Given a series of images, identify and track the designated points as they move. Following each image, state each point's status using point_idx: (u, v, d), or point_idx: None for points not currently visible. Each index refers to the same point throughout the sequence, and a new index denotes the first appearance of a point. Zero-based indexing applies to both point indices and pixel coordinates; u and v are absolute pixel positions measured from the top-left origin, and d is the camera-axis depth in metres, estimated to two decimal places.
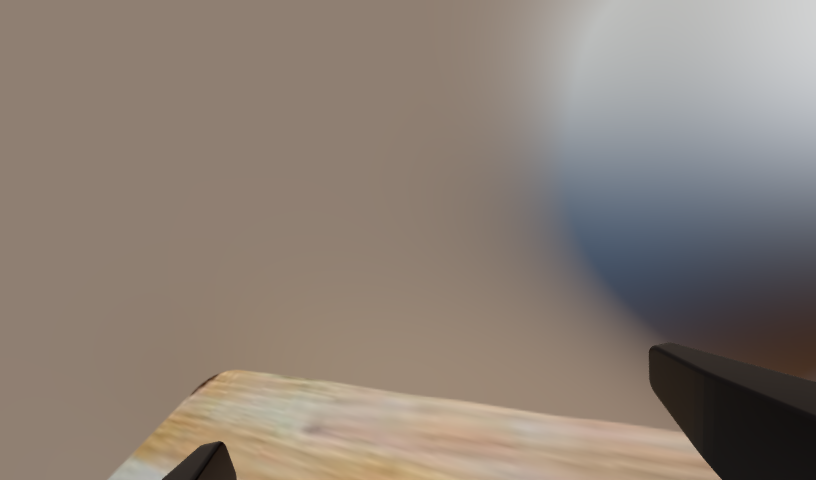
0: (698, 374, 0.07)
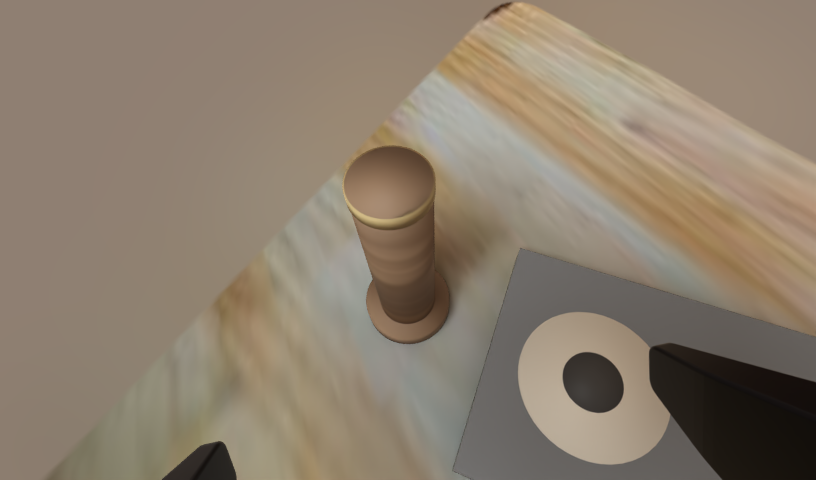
0: (698, 374, 0.07)
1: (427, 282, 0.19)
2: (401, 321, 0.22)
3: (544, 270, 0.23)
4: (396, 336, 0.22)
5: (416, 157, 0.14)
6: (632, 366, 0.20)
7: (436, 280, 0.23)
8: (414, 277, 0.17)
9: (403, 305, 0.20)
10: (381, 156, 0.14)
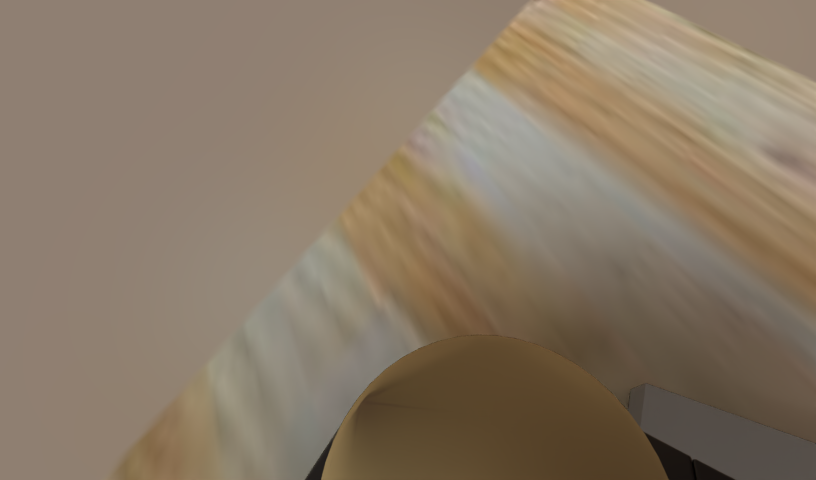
0: None
1: None
2: None
3: (698, 432, 0.13)
4: None
5: (582, 391, 0.04)
6: None
7: None
8: None
9: None
10: (454, 383, 0.04)
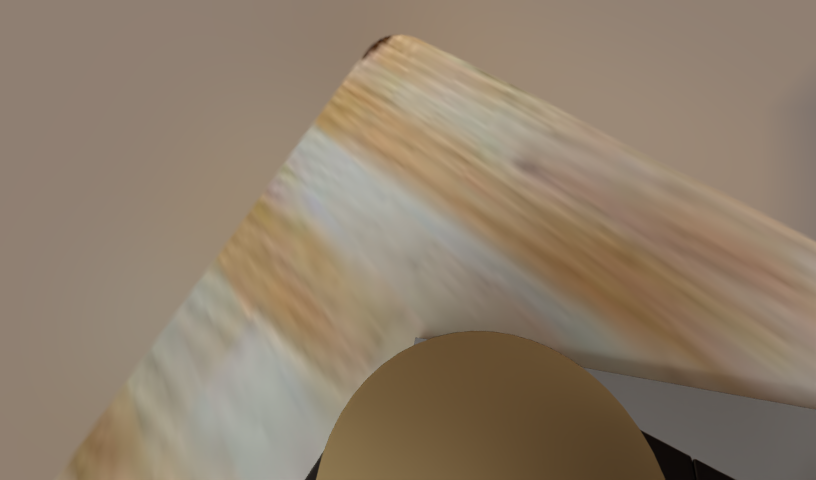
0: None
1: None
2: None
3: None
4: None
5: (577, 387, 0.04)
6: None
7: None
8: None
9: None
10: (450, 379, 0.04)
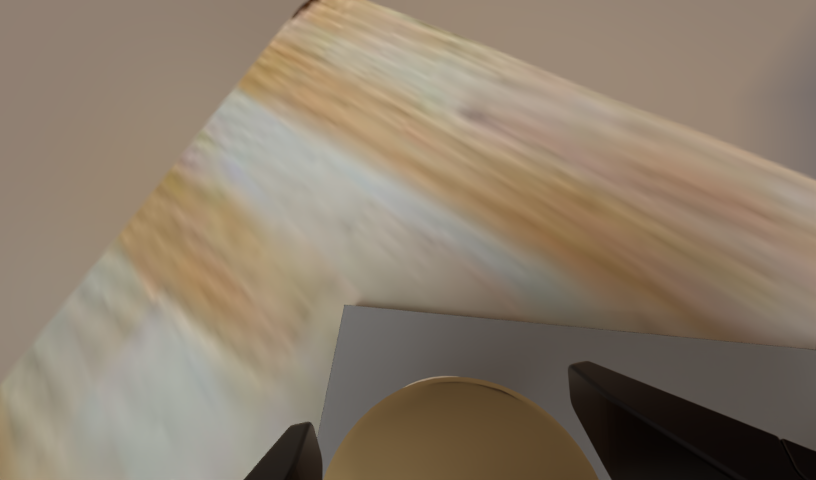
0: (602, 395, 0.07)
1: None
2: None
3: (377, 329, 0.17)
4: None
5: (540, 428, 0.05)
6: None
7: None
8: None
9: None
10: (430, 421, 0.05)
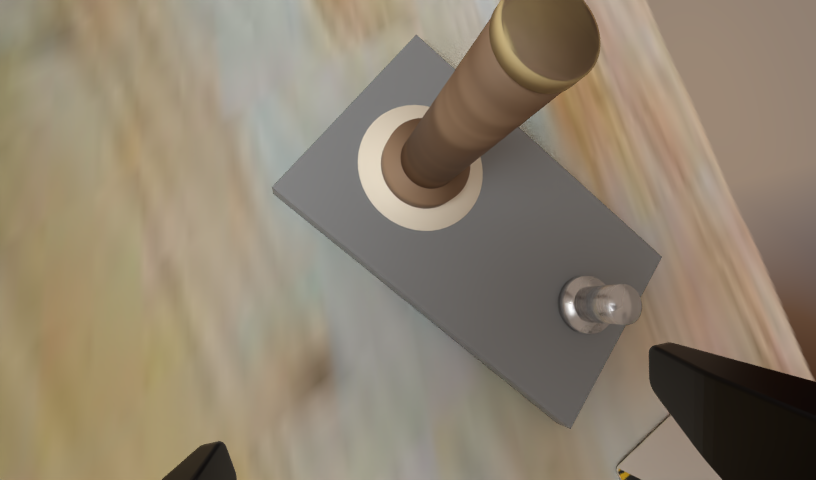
0: (698, 374, 0.07)
1: (473, 159, 0.17)
2: (411, 177, 0.20)
3: (428, 64, 0.23)
4: (398, 187, 0.20)
5: (591, 25, 0.12)
6: None
7: None
8: (474, 146, 0.15)
9: (432, 164, 0.18)
10: None
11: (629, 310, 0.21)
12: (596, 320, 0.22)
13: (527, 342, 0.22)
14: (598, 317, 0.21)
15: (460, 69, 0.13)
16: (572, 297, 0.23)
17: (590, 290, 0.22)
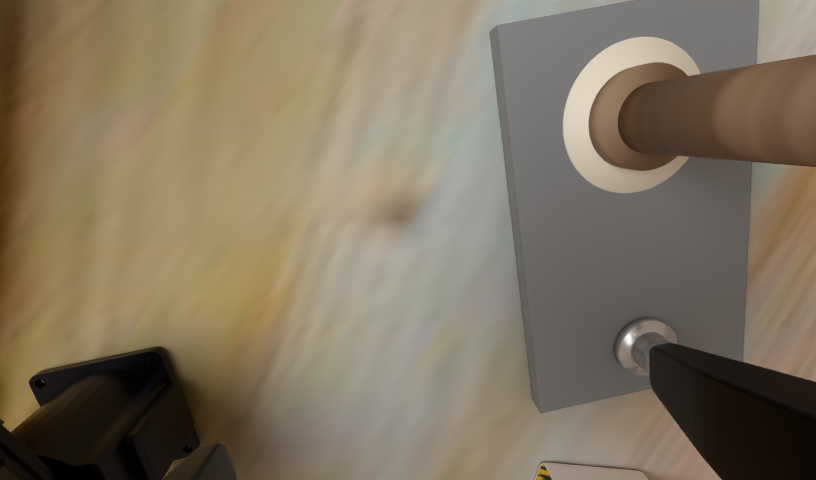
0: (698, 374, 0.07)
1: (708, 156, 0.14)
2: (622, 121, 0.18)
3: (739, 21, 0.19)
4: (601, 120, 0.18)
5: None
6: None
7: None
8: (733, 146, 0.13)
9: (663, 127, 0.15)
10: None
11: None
12: (644, 365, 0.21)
13: (572, 331, 0.22)
14: None
15: None
16: (641, 332, 0.22)
17: (663, 341, 0.21)
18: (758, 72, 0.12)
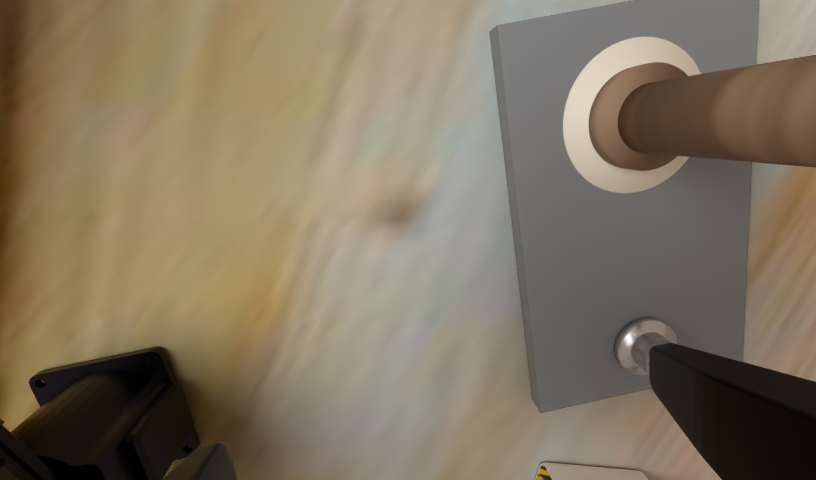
0: (698, 374, 0.07)
1: (708, 156, 0.14)
2: (622, 121, 0.18)
3: (739, 21, 0.19)
4: (601, 120, 0.18)
5: None
6: None
7: None
8: (733, 146, 0.13)
9: (662, 128, 0.15)
10: None
11: None
12: (644, 365, 0.21)
13: (572, 331, 0.22)
14: None
15: None
16: (641, 332, 0.22)
17: (663, 341, 0.21)
18: (758, 72, 0.12)
